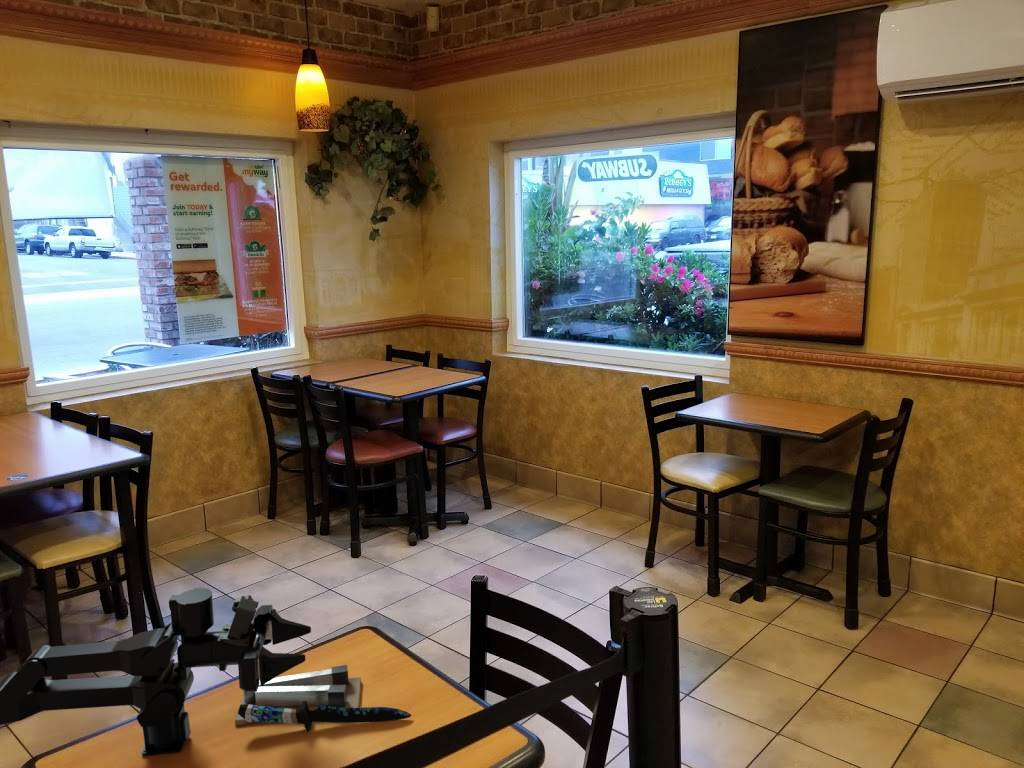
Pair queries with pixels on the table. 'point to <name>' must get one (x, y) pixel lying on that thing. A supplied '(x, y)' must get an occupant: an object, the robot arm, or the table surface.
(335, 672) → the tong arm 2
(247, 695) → the tong hinge
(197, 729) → the table surface
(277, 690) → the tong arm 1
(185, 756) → the table surface
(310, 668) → the table surface
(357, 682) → the flat board
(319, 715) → the knife
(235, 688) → the table surface
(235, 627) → the robot arm
